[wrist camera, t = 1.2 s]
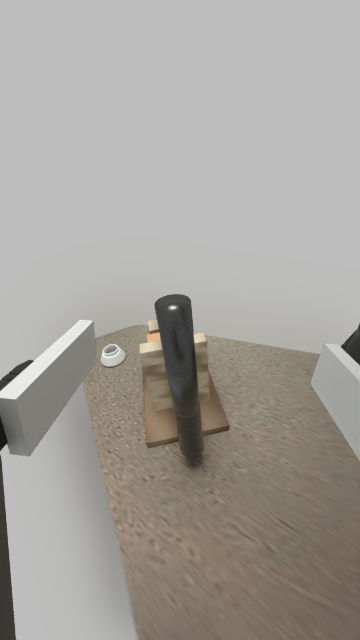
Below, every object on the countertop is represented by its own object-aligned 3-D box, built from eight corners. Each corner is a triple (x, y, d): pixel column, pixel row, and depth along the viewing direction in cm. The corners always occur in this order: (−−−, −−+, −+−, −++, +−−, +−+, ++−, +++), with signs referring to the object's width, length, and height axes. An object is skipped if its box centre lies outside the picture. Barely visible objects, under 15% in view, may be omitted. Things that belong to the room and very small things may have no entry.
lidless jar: (108, 371, 50) (130, 359, 52) (104, 360, 48) (127, 348, 51) (97, 360, 53) (118, 349, 56) (94, 349, 51) (115, 338, 54)
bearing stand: (202, 358, 50) (198, 301, 43) (229, 429, 36) (229, 363, 29) (143, 370, 49) (129, 313, 42) (147, 447, 35) (128, 383, 28)
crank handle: (181, 359, 46) (166, 245, 34) (206, 455, 31) (194, 308, 19) (165, 362, 45) (144, 248, 34) (182, 460, 30) (156, 315, 19)
